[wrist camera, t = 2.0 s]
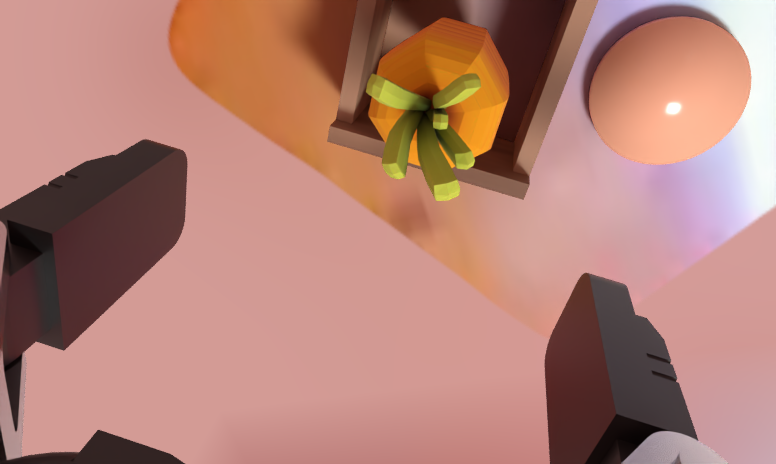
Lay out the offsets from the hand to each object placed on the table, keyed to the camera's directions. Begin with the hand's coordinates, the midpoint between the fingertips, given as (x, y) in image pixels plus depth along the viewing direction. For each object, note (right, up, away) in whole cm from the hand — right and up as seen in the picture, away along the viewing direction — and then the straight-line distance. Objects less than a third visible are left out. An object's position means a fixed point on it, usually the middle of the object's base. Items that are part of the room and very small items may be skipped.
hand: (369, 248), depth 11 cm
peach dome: (+14, +7, +16) cm, 23 cm away
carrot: (+4, +10, +17) cm, 20 cm away
